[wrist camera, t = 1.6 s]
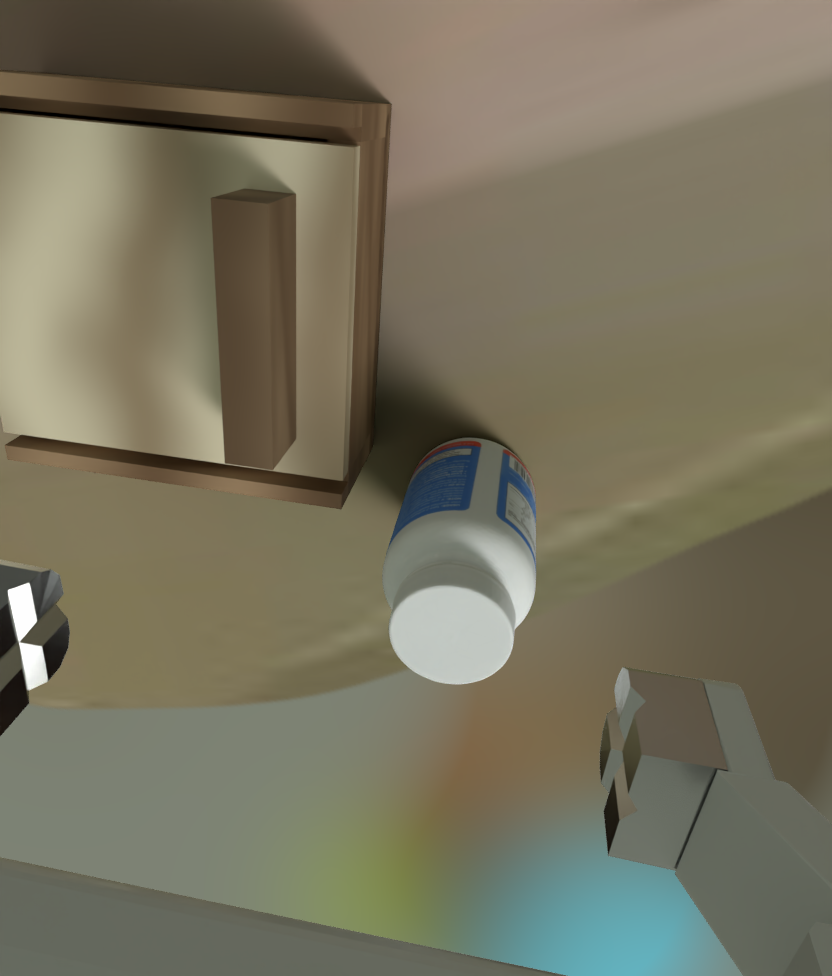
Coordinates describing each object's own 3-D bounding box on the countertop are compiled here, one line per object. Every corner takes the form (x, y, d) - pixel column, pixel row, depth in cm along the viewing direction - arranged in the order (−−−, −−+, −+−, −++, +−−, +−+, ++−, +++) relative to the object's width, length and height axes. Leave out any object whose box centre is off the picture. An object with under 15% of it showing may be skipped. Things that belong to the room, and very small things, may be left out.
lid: (360, 145, 21) (330, 152, 19) (348, 471, 27) (323, 515, 24) (-46, 106, 23) (-132, 107, 20) (17, 424, 28) (-44, 460, 25)
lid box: (391, 103, 25) (354, 103, 20) (372, 446, 31) (341, 509, 26) (38, 72, 26) (-76, 65, 22) (87, 407, 32) (7, 459, 28)
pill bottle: (398, 524, 33) (345, 671, 24) (428, 418, 30) (381, 541, 22) (514, 560, 33) (503, 720, 24) (555, 456, 30) (559, 596, 22)
